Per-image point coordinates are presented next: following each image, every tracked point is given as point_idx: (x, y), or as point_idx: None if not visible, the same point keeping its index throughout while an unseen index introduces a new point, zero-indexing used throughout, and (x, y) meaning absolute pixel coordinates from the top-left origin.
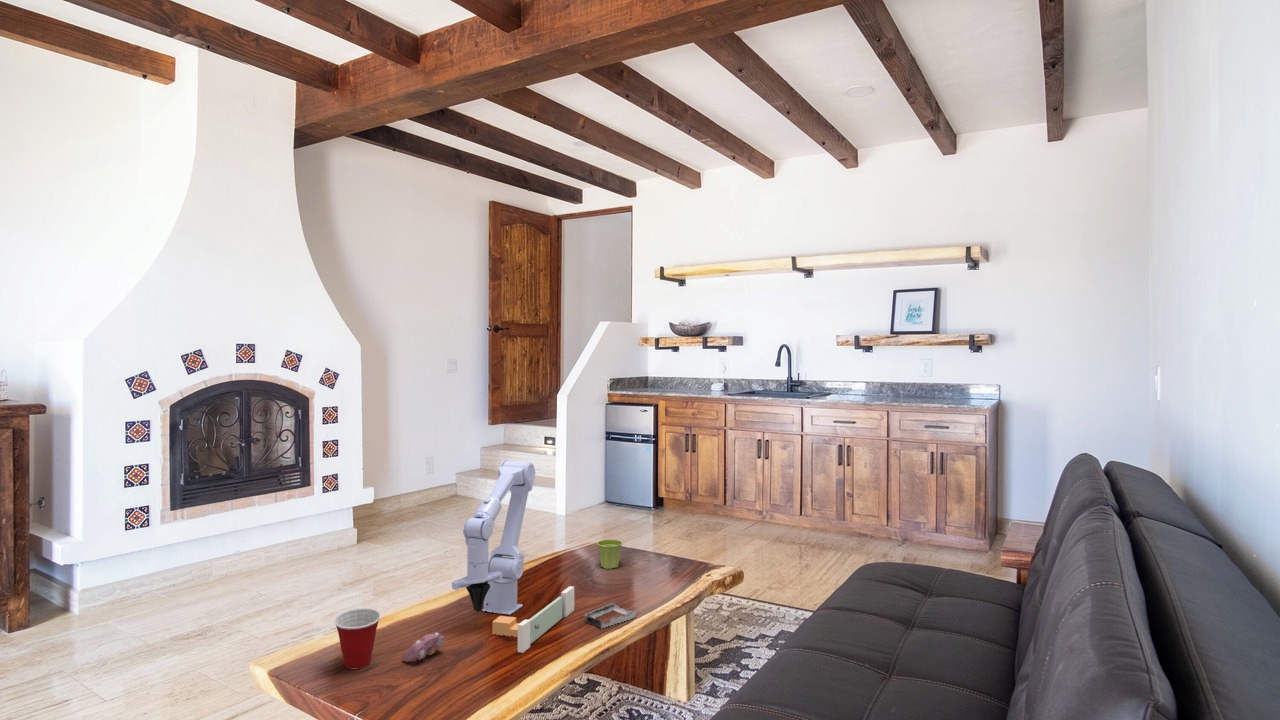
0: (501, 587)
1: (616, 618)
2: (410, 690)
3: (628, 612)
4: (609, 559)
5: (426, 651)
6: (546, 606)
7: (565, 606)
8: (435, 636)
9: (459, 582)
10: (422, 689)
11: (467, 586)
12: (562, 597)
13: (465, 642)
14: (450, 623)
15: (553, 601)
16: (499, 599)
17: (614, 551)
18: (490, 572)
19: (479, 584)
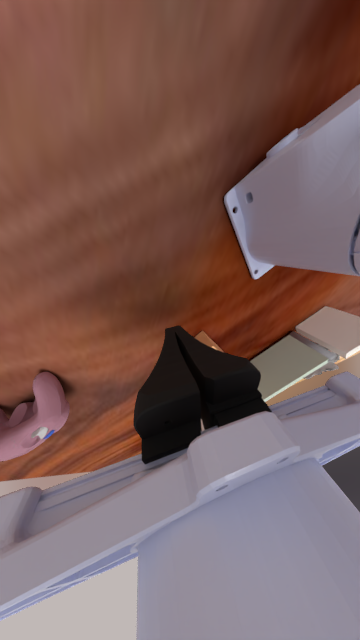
0: (326, 261)
1: (311, 374)
2: (29, 458)
3: (336, 354)
4: None
5: (34, 404)
6: (278, 390)
7: (315, 341)
8: (35, 447)
9: (37, 602)
10: (47, 456)
11: (133, 464)
12: (328, 361)
13: (124, 365)
14: (104, 242)
15: (303, 375)
16: (276, 253)
17: None
18: None
19: (214, 425)
